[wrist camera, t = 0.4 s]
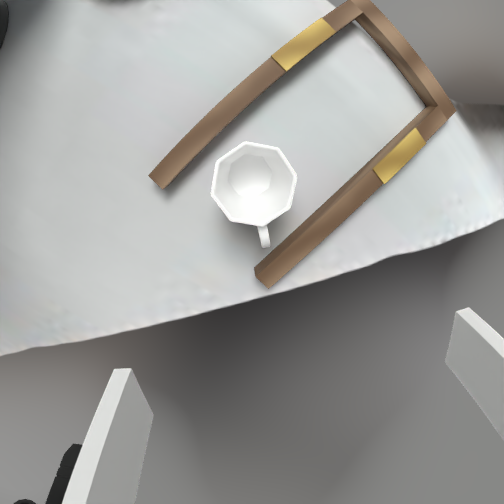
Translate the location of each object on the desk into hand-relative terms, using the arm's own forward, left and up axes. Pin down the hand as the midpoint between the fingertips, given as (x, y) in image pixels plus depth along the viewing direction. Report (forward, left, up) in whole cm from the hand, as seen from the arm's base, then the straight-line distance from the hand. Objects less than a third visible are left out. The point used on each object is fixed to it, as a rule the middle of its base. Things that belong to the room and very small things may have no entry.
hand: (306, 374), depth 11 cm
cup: (-3, +2, -24) cm, 25 cm away
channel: (-3, +10, -24) cm, 26 cm away
